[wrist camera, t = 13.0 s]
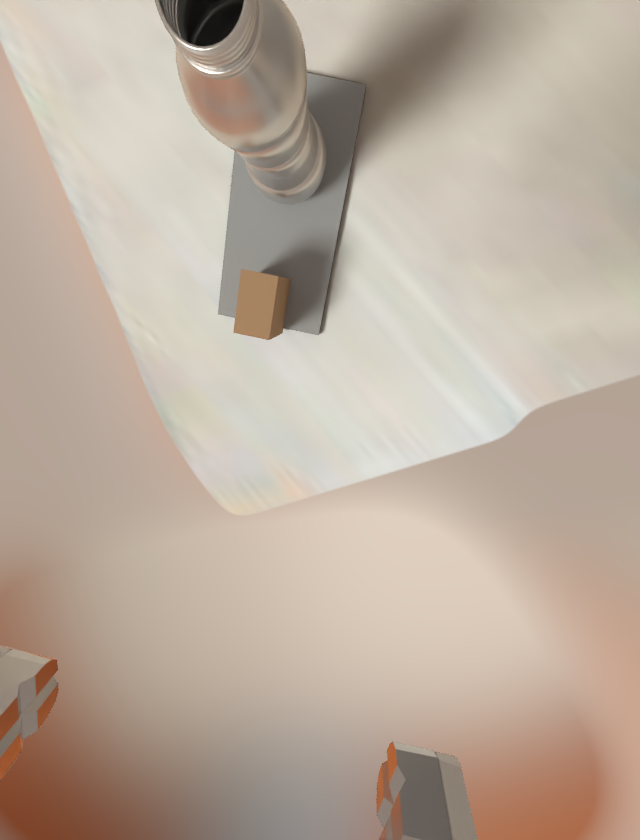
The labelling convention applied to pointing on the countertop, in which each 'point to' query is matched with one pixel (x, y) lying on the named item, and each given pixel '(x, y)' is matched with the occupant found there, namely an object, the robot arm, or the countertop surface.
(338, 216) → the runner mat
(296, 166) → the plastic bottle
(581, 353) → the countertop surface
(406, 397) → the countertop surface
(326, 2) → the countertop surface
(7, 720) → the robot arm
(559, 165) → the countertop surface
